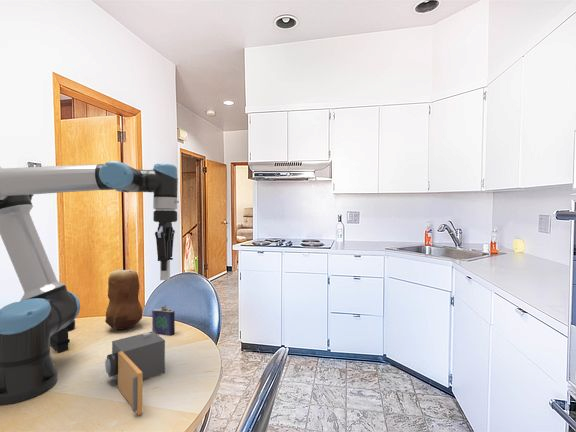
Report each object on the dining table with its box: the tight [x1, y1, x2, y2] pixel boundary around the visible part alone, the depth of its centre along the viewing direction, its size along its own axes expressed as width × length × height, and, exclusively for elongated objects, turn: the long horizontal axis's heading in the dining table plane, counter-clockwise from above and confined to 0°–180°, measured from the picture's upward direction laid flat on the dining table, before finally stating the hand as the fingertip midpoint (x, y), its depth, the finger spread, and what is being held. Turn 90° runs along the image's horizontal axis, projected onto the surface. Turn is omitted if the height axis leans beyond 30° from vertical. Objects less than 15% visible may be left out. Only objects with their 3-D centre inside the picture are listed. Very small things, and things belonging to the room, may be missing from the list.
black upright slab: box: [50, 325, 71, 353], centre depth 112 cm, size 4×13×15 cm, turn 50°
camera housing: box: [104, 330, 166, 383], centre depth 93 cm, size 14×10×11 cm
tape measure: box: [68, 319, 76, 331], centre depth 129 cm, size 7×7×4 cm
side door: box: [117, 351, 143, 416], centre depth 80 cm, size 16×2×10 cm, turn 44°
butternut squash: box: [104, 269, 143, 330], centre depth 131 cm, size 14×13×25 cm
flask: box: [151, 304, 176, 337], centre depth 125 cm, size 10×3×12 cm, turn 76°
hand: (165, 279), depth 104 cm, fingers closed
